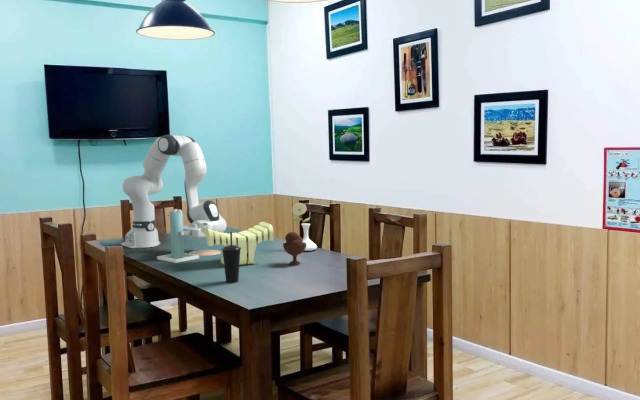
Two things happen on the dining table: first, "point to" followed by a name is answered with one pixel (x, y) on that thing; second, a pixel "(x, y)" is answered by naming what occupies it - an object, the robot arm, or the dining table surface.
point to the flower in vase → (304, 225)
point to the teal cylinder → (176, 234)
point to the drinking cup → (231, 261)
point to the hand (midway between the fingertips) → (175, 232)
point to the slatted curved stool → (242, 240)
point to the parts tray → (175, 260)
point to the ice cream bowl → (294, 246)
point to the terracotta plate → (205, 252)
